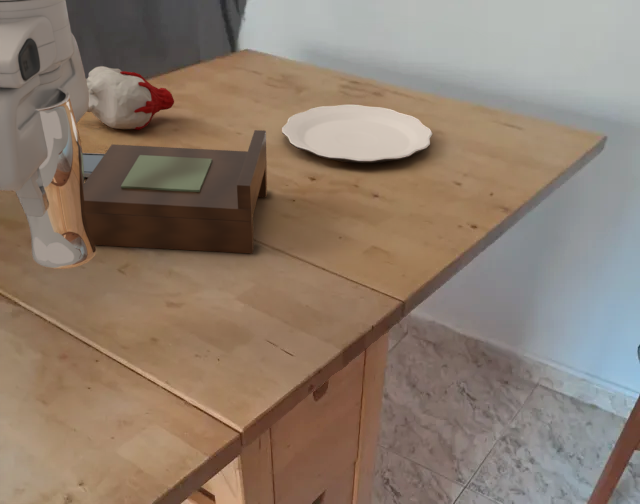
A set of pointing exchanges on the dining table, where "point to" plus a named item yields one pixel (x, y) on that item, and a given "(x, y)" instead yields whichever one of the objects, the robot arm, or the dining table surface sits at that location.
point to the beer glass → (61, 193)
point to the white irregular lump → (124, 98)
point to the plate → (357, 133)
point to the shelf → (176, 197)
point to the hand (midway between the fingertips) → (51, 195)
